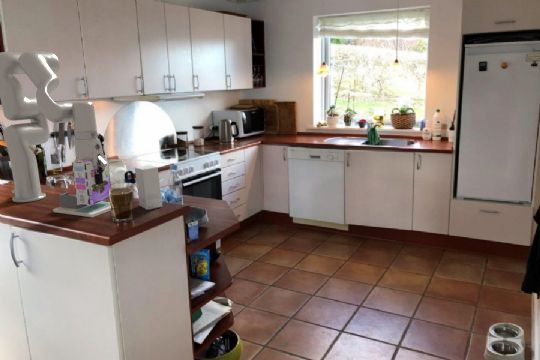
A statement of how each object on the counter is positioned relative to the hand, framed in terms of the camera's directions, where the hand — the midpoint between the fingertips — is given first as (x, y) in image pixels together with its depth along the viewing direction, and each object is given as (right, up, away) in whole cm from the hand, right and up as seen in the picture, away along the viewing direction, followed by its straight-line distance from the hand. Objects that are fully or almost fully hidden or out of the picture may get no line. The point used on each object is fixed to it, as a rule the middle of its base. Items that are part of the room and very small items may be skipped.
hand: (92, 182), depth 172 cm
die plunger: (-8, -8, +6) cm, 13 cm away
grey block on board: (-3, -10, +4) cm, 11 cm away
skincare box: (+20, -9, +5) cm, 23 cm away
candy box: (0, -7, +2) cm, 7 cm away
